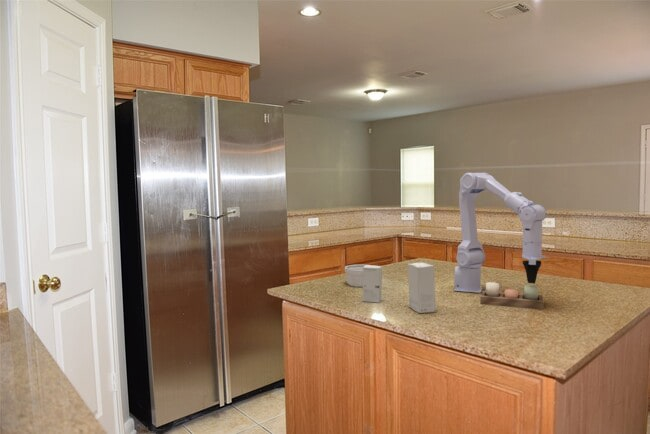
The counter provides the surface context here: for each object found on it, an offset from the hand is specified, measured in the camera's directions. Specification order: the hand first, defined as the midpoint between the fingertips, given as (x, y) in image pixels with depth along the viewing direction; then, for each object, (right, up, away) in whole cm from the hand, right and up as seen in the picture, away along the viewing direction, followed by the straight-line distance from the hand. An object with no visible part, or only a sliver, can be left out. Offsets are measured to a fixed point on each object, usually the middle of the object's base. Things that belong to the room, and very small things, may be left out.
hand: (531, 282), depth 150 cm
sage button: (0, -5, 0) cm, 5 cm away
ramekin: (-53, -6, +34) cm, 64 cm away
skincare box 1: (-51, -8, +9) cm, 53 cm away
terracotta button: (-5, -7, +3) cm, 9 cm away
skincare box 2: (-37, -8, -3) cm, 38 cm away
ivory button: (-11, -5, +5) cm, 13 cm away
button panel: (-5, -7, +3) cm, 10 cm away
